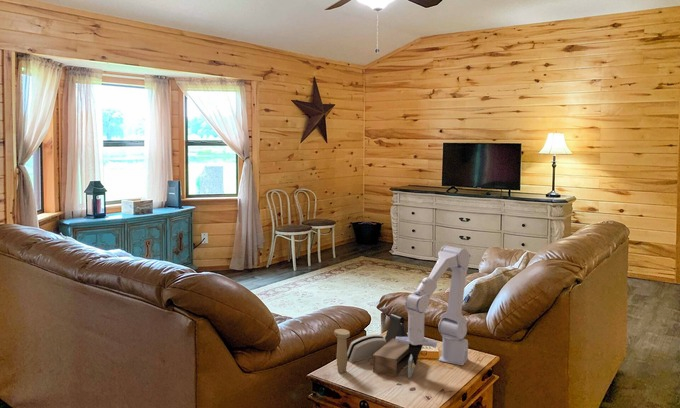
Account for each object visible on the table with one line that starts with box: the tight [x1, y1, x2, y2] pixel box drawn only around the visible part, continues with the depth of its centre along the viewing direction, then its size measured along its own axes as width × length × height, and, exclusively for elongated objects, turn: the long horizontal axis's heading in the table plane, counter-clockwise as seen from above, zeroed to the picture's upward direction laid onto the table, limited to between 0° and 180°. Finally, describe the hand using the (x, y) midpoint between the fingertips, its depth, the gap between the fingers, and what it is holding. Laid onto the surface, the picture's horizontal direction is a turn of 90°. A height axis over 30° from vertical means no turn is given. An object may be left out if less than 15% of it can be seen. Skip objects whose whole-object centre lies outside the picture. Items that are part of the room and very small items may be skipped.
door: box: [407, 354, 416, 379], centre depth 207 cm, size 2×18×6 cm, turn 165°
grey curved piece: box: [347, 334, 386, 363], centre depth 218 cm, size 17×5×10 cm, turn 123°
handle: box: [333, 328, 351, 374], centre depth 203 cm, size 5×6×15 cm
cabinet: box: [372, 339, 411, 378], centre depth 210 cm, size 9×19×6 cm, turn 152°
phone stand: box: [384, 313, 408, 344], centre depth 232 cm, size 9×6×12 cm, turn 126°
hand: (415, 364), depth 202 cm, fingers closed
